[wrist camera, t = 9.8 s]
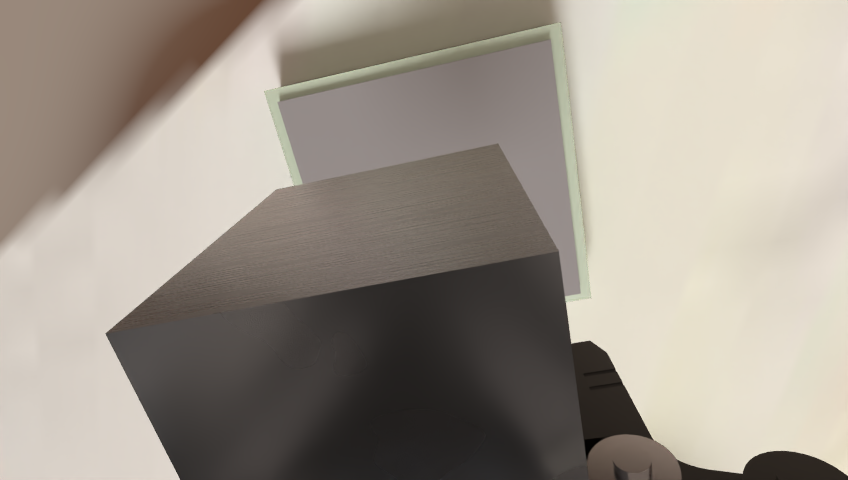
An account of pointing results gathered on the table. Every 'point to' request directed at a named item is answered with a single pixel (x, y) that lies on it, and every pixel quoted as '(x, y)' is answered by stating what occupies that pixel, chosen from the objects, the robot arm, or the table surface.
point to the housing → (367, 335)
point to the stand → (450, 124)
